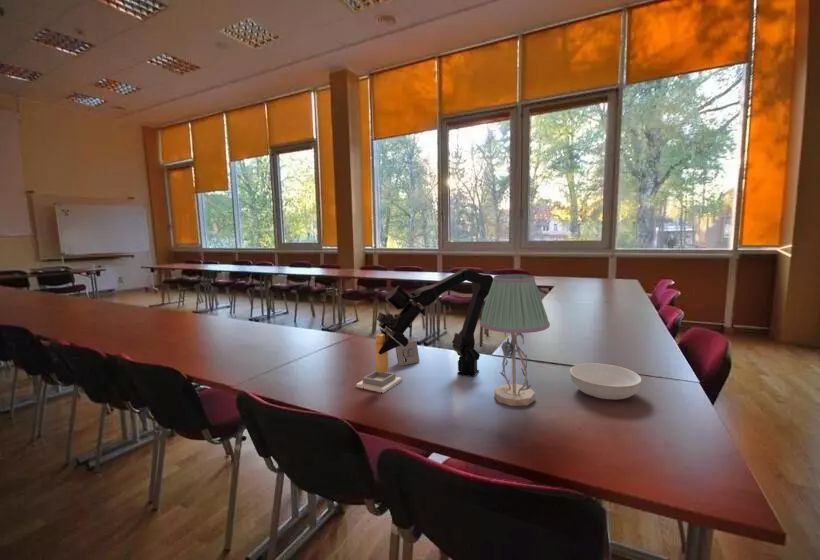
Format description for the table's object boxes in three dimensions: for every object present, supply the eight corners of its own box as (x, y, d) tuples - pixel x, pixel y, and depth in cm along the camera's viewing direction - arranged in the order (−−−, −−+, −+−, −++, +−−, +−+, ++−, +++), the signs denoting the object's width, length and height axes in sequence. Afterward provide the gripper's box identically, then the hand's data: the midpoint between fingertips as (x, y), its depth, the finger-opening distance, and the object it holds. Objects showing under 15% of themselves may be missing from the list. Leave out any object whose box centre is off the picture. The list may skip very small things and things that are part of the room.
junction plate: (402, 380, 145) (401, 372, 145) (383, 393, 135) (383, 384, 135) (376, 375, 151) (375, 367, 151) (356, 387, 141) (356, 378, 141)
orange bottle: (391, 370, 138) (389, 334, 137) (381, 373, 135) (379, 337, 134) (383, 367, 142) (381, 332, 140) (373, 370, 139) (371, 335, 137)
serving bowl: (641, 413, 114) (642, 390, 113) (565, 400, 124) (565, 379, 123) (640, 387, 132) (640, 367, 131) (573, 377, 142) (573, 359, 141)
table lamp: (468, 391, 133) (466, 275, 128) (520, 380, 141) (520, 271, 136) (506, 418, 113) (505, 283, 108) (564, 404, 121) (566, 276, 116)
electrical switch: (399, 366, 161) (398, 344, 160) (394, 364, 165) (393, 342, 165) (420, 362, 165) (418, 341, 164) (414, 360, 169) (413, 339, 169)
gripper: (382, 299, 146) (355, 332, 143) (397, 308, 128) (367, 345, 126) (403, 317, 149) (377, 349, 147) (421, 328, 132) (391, 365, 129)
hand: (377, 351), depth 137 cm, fingers closed on orange bottle, 4 cm apart
